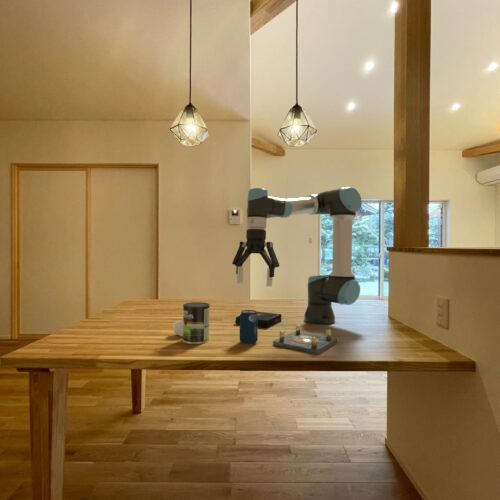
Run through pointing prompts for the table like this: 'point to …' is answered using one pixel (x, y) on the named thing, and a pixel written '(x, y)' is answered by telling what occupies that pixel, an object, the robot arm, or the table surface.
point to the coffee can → (196, 323)
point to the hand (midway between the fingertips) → (254, 284)
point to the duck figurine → (178, 327)
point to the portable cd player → (264, 319)
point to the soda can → (248, 327)
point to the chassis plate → (305, 341)
